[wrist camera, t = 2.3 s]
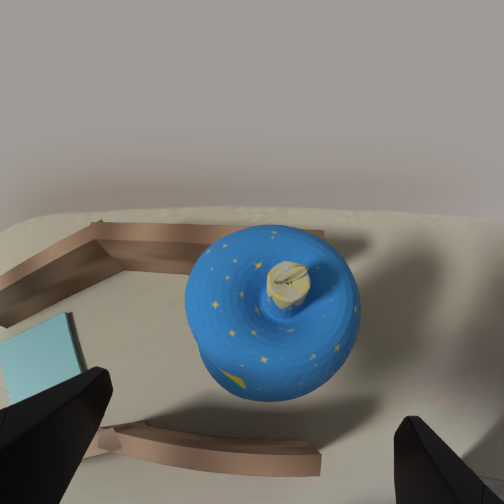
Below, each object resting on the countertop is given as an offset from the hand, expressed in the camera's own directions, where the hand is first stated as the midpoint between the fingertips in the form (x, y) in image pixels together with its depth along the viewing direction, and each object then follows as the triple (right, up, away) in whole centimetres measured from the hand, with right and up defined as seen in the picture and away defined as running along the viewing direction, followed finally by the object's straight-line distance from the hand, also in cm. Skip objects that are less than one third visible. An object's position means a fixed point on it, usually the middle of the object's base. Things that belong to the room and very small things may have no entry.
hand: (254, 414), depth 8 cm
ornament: (+1, -2, +12) cm, 12 cm away
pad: (-16, -5, +10) cm, 20 cm away
